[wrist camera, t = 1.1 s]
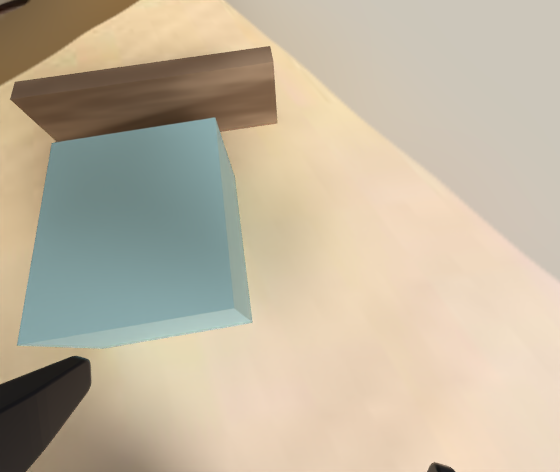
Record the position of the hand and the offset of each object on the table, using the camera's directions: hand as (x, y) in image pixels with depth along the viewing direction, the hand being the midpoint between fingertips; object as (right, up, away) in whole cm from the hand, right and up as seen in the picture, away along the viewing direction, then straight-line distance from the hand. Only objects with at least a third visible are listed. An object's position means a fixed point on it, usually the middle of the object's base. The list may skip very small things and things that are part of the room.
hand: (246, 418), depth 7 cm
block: (-8, +3, +19) cm, 21 cm away
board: (-10, +16, +24) cm, 31 cm away
